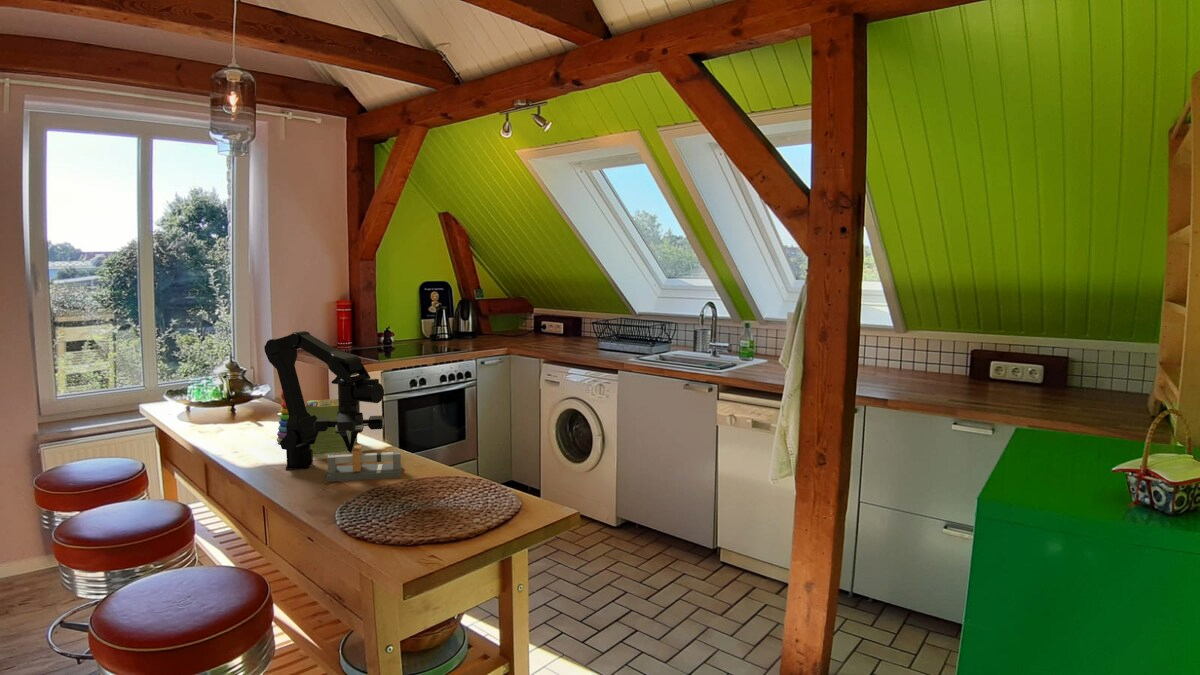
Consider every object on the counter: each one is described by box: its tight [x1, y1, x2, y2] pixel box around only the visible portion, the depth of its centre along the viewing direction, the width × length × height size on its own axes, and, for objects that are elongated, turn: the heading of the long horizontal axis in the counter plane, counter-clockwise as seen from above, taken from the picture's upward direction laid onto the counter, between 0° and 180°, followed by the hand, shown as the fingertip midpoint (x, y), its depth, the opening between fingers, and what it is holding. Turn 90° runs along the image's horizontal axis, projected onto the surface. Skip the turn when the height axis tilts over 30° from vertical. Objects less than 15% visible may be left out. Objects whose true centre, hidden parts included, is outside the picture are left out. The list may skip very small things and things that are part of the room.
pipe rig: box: [326, 450, 402, 482], centre depth 198 cm, size 20×9×6 cm, turn 104°
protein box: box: [305, 398, 358, 455], centre depth 222 cm, size 10×15×16 cm
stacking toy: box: [276, 391, 289, 444], centre depth 228 cm, size 8×8×19 cm
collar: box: [351, 444, 363, 472], centre depth 197 cm, size 2×6×6 cm, turn 14°
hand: (350, 452), depth 196 cm, fingers closed
